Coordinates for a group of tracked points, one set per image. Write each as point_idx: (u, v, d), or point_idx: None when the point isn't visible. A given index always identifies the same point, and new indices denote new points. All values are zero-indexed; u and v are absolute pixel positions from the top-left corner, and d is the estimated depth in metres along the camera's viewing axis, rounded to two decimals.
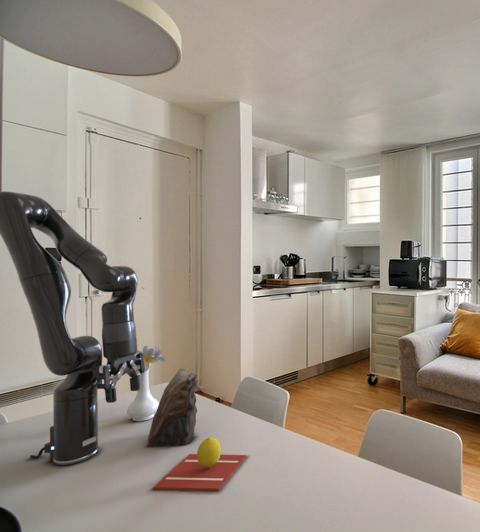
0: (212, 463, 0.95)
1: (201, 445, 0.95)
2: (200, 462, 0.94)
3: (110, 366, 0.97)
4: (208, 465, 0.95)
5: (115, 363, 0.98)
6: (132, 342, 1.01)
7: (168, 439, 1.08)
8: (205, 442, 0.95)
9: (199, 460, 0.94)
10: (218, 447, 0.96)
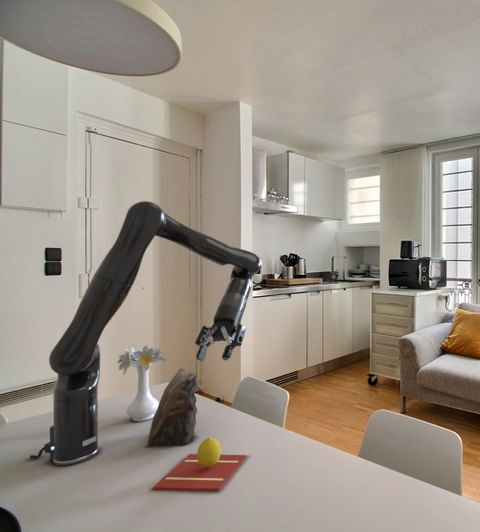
0: (212, 463, 0.95)
1: (201, 445, 0.95)
2: (200, 462, 0.94)
3: None
4: (208, 465, 0.95)
5: None
6: None
7: (168, 439, 1.08)
8: (205, 442, 0.95)
9: (199, 460, 0.94)
10: (218, 447, 0.96)
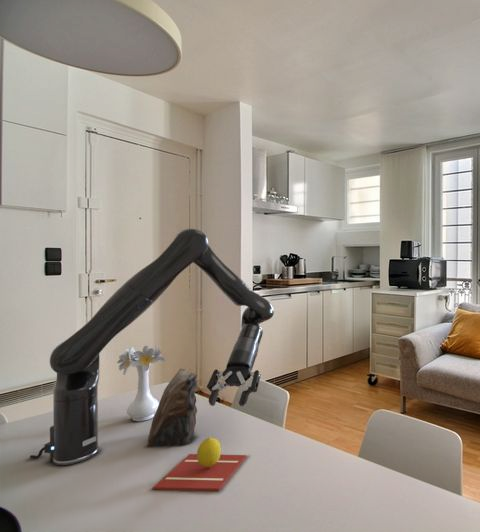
0: (212, 463, 0.95)
1: (201, 445, 0.95)
2: (200, 462, 0.94)
3: None
4: (208, 465, 0.95)
5: None
6: None
7: (168, 439, 1.08)
8: (205, 442, 0.95)
9: (199, 460, 0.94)
10: (218, 447, 0.96)
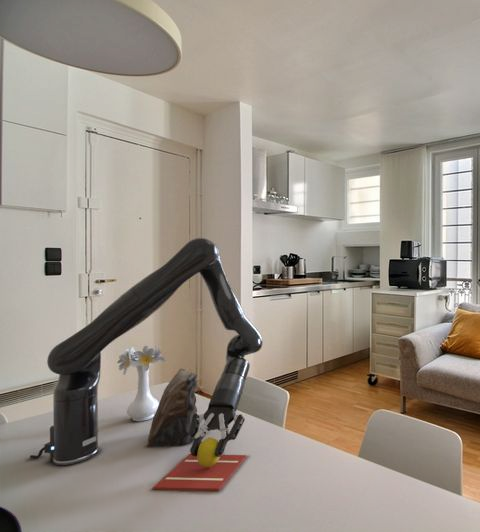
0: (212, 463, 0.95)
1: (201, 445, 0.95)
2: (200, 462, 0.94)
3: None
4: (208, 465, 0.95)
5: None
6: None
7: (168, 439, 1.08)
8: (205, 442, 0.95)
9: (199, 460, 0.94)
10: None
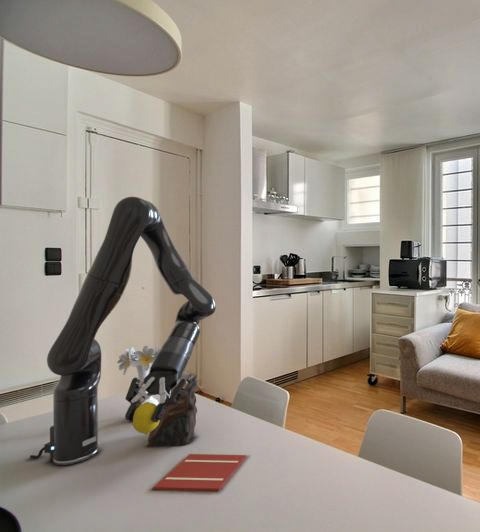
0: (149, 429, 0.88)
1: (137, 409, 0.88)
2: (135, 427, 0.87)
3: None
4: (144, 431, 0.87)
5: None
6: None
7: (168, 439, 1.08)
8: (142, 406, 0.88)
9: (134, 425, 0.87)
10: None
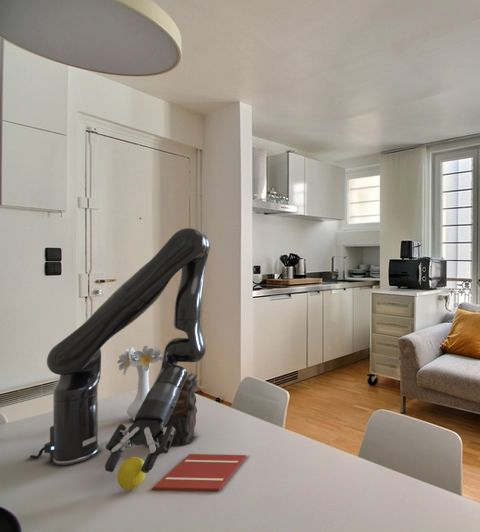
0: (134, 485, 0.86)
1: (122, 465, 0.86)
2: (120, 484, 0.86)
3: None
4: (129, 488, 0.86)
5: None
6: None
7: None
8: (127, 462, 0.87)
9: (119, 482, 0.86)
10: None
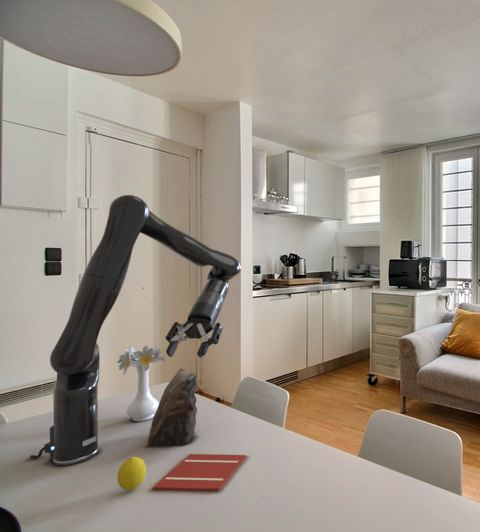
0: (134, 485, 0.86)
1: (122, 465, 0.86)
2: (120, 484, 0.86)
3: None
4: (129, 488, 0.86)
5: None
6: None
7: (168, 439, 1.08)
8: (127, 462, 0.87)
9: (119, 482, 0.86)
10: (142, 467, 0.88)
